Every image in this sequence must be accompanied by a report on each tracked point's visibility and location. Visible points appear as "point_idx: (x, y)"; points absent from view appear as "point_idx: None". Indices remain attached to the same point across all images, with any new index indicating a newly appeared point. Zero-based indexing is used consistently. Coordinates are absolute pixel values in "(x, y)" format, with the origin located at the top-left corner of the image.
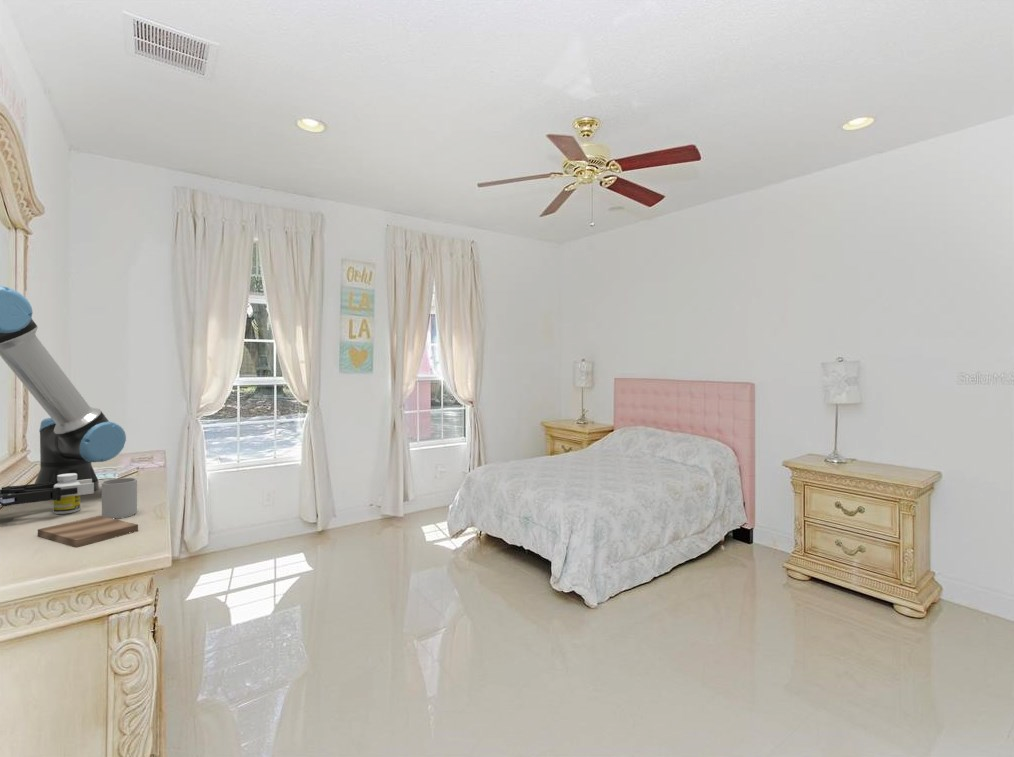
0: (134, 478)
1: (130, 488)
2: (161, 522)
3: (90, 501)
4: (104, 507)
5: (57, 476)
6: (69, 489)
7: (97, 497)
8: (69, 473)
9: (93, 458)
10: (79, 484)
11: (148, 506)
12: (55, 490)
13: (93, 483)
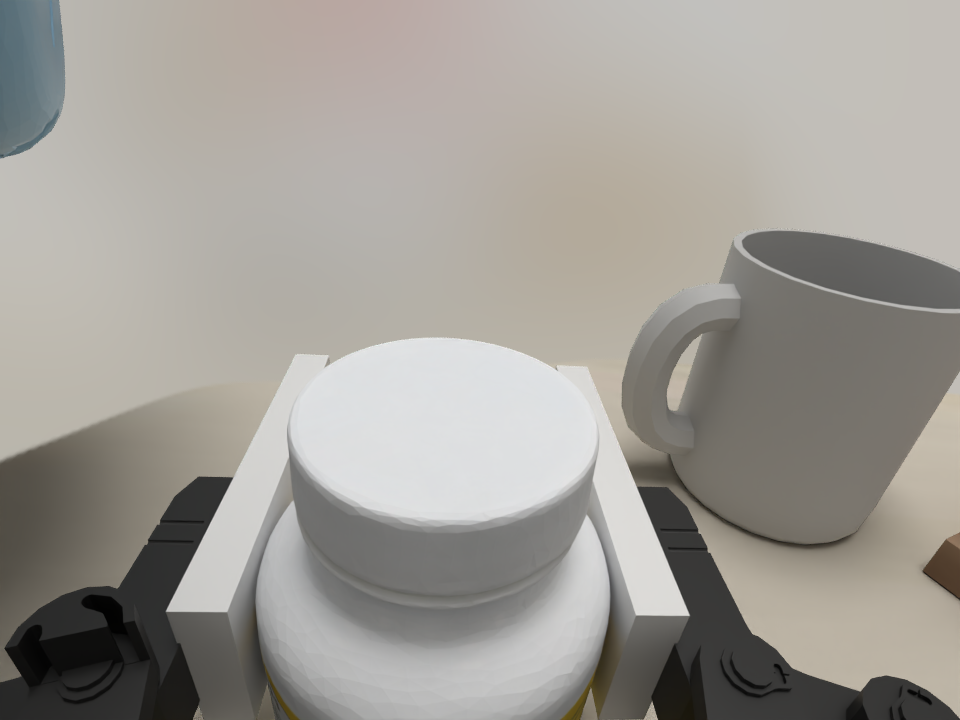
0: (768, 230)
1: (879, 294)
2: (949, 394)
3: (123, 563)
4: (887, 479)
5: (484, 530)
6: (710, 556)
7: (13, 513)
8: (320, 380)
9: (31, 100)
10: (601, 443)
11: (592, 379)
12: (944, 712)
13: (585, 372)
